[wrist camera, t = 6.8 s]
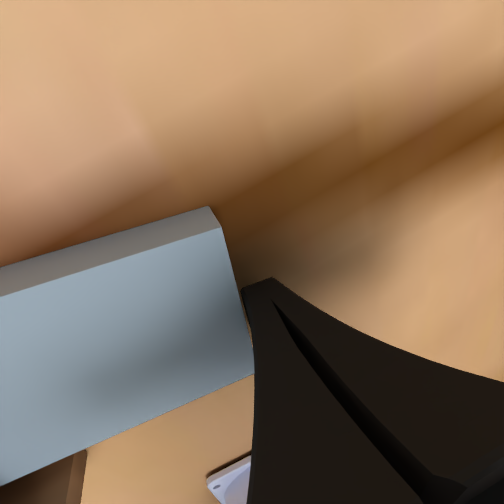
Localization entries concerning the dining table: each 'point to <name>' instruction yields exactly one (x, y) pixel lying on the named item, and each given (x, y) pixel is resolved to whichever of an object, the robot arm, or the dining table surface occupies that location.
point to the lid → (115, 336)
